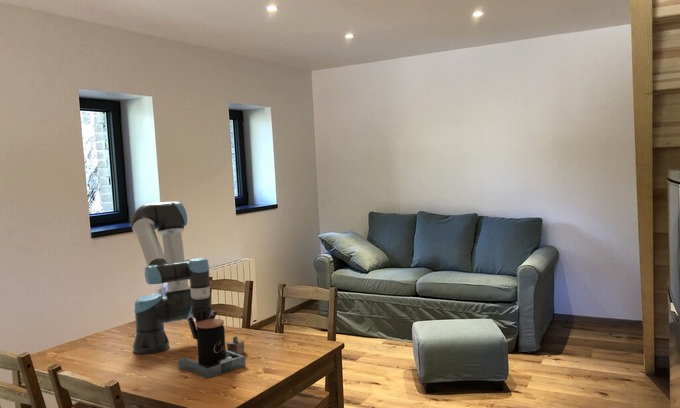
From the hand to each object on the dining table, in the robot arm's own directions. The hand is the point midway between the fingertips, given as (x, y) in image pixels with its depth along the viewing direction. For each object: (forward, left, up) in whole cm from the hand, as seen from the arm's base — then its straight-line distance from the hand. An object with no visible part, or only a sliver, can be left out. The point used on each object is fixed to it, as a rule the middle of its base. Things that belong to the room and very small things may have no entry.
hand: (203, 354), depth 228 cm
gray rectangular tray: (+8, 0, -3) cm, 9 cm away
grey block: (0, +15, -4) cm, 15 cm away
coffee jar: (+7, 0, -4) cm, 8 cm away
